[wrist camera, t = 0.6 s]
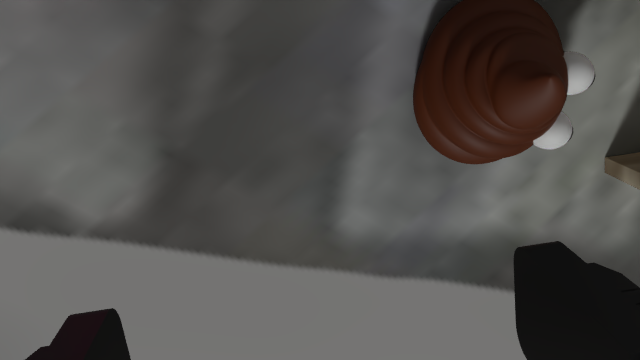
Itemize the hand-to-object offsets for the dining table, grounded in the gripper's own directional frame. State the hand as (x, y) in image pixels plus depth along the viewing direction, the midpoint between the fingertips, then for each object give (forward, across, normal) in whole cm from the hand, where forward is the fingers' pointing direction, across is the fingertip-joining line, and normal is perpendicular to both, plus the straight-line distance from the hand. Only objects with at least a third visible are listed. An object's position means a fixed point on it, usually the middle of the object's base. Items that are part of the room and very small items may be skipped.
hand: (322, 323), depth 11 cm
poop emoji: (+26, -12, 0) cm, 28 cm away
